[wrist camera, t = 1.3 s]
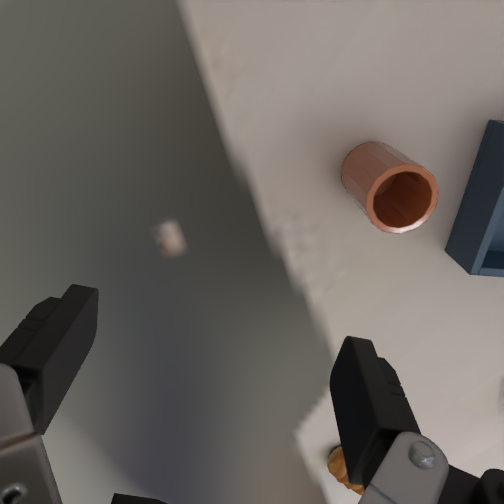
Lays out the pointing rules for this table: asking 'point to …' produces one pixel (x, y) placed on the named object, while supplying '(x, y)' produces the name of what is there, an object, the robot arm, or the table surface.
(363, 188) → the cup
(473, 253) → the bin
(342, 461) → the pastry
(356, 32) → the table surface
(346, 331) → the table surface
